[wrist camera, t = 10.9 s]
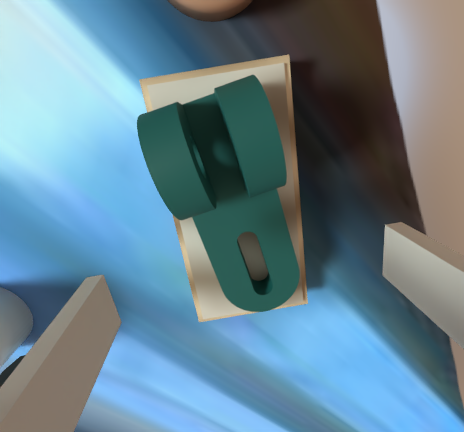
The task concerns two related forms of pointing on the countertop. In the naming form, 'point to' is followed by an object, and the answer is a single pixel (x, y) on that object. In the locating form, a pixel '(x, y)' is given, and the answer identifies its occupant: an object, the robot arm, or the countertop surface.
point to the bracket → (226, 184)
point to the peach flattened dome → (210, 8)
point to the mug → (13, 323)
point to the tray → (280, 98)
